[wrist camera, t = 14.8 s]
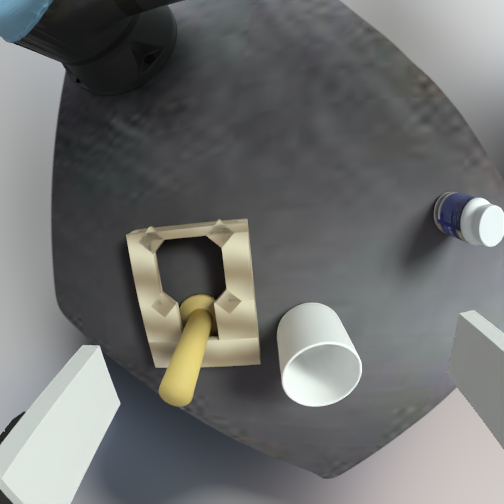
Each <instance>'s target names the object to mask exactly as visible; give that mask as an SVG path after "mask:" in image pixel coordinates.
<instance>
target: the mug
mask: <svg viewBox="0 0 504 504" xmlns="http://www.w3.org/2000/svg"><path fill="white" fill-rule="evenodd" d="M277 344H278V353H279V362H280V371H281V380H282V386H283V389H284V391H285V393H286V394H287V395H288V396H289V397H290V398H291V399H292V400H293V401H295V402H297V403H299V404H302V405H305V406H313V407H317V406H326V405H329V404H332V403H335V402H337V401H339V400H341V399H343V398H344V397H346V396H347V395H348V394H349V393H351V392H352V390H353V389H354V388H355V387H356V385H357V384H358V382H359V380H360V377H361V373H362V364H361V360H360V358H359V356H358V354H357V352H356V350H355V348H354V346H353V344H352V342H351V340H350V338H349V336H348V334H347V332H346V330H345V328H344V326H343V325H342V323H341V321H340V319H339V317H338V316H337V314H336V313H335V312H334V311H333V310H332V309H331V308H329V307H328V306H326V305H323V304H320V303H304V304H300V305H297V306H295V307H293V308H292V309H290V310H289V311H288V312H287V313H286V314H285V315H284V316H283V317H282V319H281V321H280V323H279V325H278V329H277Z"/></svg>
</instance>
